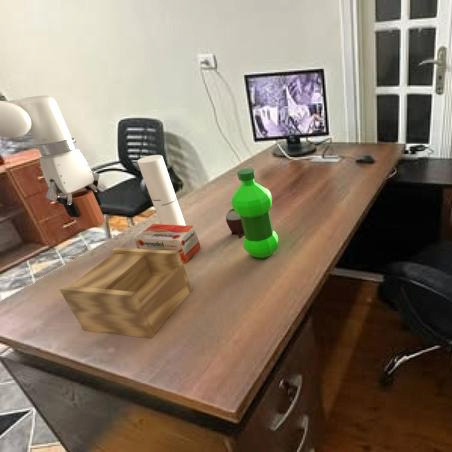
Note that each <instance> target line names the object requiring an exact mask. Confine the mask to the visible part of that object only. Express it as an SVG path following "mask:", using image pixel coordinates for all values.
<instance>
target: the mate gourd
mask: <svg viewBox="0 0 452 452" xmlns="http://www.w3.org/2000/svg"><path fill="white" fill-rule="evenodd" d="M225 221H226V222H225V223H226V225H227V226H228V229H229V230H230V234H231V235H232V236H234V235H238V239H241V238H242V237H243V234H244V230H243V226H242V222H241V218H240V215H239V214H238V213H236V212H235V211H234V209H233V208H230V209H229V210H228V211H227V213H226V215H225Z"/></svg>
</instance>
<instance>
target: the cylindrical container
mask: <svg viewBox="0 0 452 452" xmlns="http://www.w3.org/2000/svg"><path fill="white" fill-rule="evenodd" d="M136 163H137V165H138V168H139V170H140V173H141V177H142V178H143V180H144V184H145V186H146V189H147V192H148V194H149V197H150V200H151V202H152V205H153V208H154V210H155V213H156V215H157V218H158V221H159V224H162V225H185V226H187V224H186V222H185V220H184V216H183V214H182V211H181V207H180V205H179V201H178V198H177V196H176V193H175V189H174V187H173V183H172V181H171V177H170V174H169V172H168V168H167V166H166V162H165V160H164V157H163V155H161V154H154V155H153V154H152V155H148V156H143V157H141V158H139V159H137V161H136Z"/></svg>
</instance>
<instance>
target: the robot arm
mask: <svg viewBox="0 0 452 452" xmlns="http://www.w3.org/2000/svg"><path fill="white" fill-rule="evenodd" d="M28 133H30V135H31V137H32V139H33V141H34V143H35V145H36V147H37V149H38V151H39V153H40V157H39V164H40V169H41V172H42V176H43V177H44V181H45V183H46V185H47V187H48V189H47V192H46V195H45V198H46V199H48V200H50V201H54V202H55V203H57V204H60V205H62V206H63V207H64V210H65V211H66V213H67V215H68V216H69V217H70V218H74V217H80V216H81V215H80V213H79V211H78V208H77V206H76V204H75V203H72V193H74V192H77V191H80V190H81V189H83V190H92V191H93V193H94V196H95V198H96V200H97V203H98V205H99V207H100V206H102V202H101V199H100V197H99V195H98V191H99V189H98V186H99V180H100V174H99V173H98V172H95V171H93V170H92V169H91V168H90V166H89V163H88V161H87V159H86V158H85V157H84V155H83V154H82V152H81V150H80V149H79V148H78V147H76V144H75V143H77V140H76V139H75V138H74V137H72V135H71V133H70V131H69V128H68V126H67V124H66V121H65V119H64V117H63V115H62V112H61V110H60V107H59V105H58V102H57V101H56V99H55V98H54V97H52V96H50V95H36V96H28V97H23V98H20V99H13V100H0V137H1V138H6V139H7V138H8V139H17V138H21V137H23V136H25V135H27V134H28ZM57 194H58V195H57ZM65 197H66V199H65Z"/></svg>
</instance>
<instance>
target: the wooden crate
mask: <svg viewBox="0 0 452 452" xmlns="http://www.w3.org/2000/svg"><path fill="white" fill-rule="evenodd" d="M111 252H112V254H110V255H109V256H108V257H106V258H105V259H104V260H102V261H101V262H100V263H98V264H97V265H96V266H95V267H93V268H92V269H90V270H89V271H88V272H87V273H85V274H84V275H82V276H81V277H80V278H78V279H77V280H76V281H75V282H73V283H72V284H71V285H62V286H60V288H58V290H59V292H60V294H61V295H62V297H63V299H64V300H65V302H66V303H67V306H68V307H69V309H70V310H71V312H72V314H73V315H74V317H75V318H76V321H77V322H78V324H79V325H80V327H81V328H82V330H83V331H86V332H87V331H88V332H94V333H95V332H96V333H102V334H103V333H104V334H112V335H119V336H127V337H135V338H144V339H152V338H153V337H154V336H155V335H156V334H157V333H158V332H159V330H160V329H161V328H162V327H163V325H165V323H166V322H167V321H168V320H169V319H170V317H171V316H172V315H173V314H174V313H175V312H176V310H177V309H178V308H179V307H180V306H181V305H182V303H183V302H184V301H185V300H186V299H187V297H189V296H190V294H191V293H192V292H193V288H192V285H191V283H190V280H189V277H188V274H187V272H186V268H185V266H184V263H182V260H181V257H180V255H179V252H178V251H169V250H151V249H138V248H134V247H133V248H132V247H131V248H130V247H114V248H113V249H111Z"/></svg>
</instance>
